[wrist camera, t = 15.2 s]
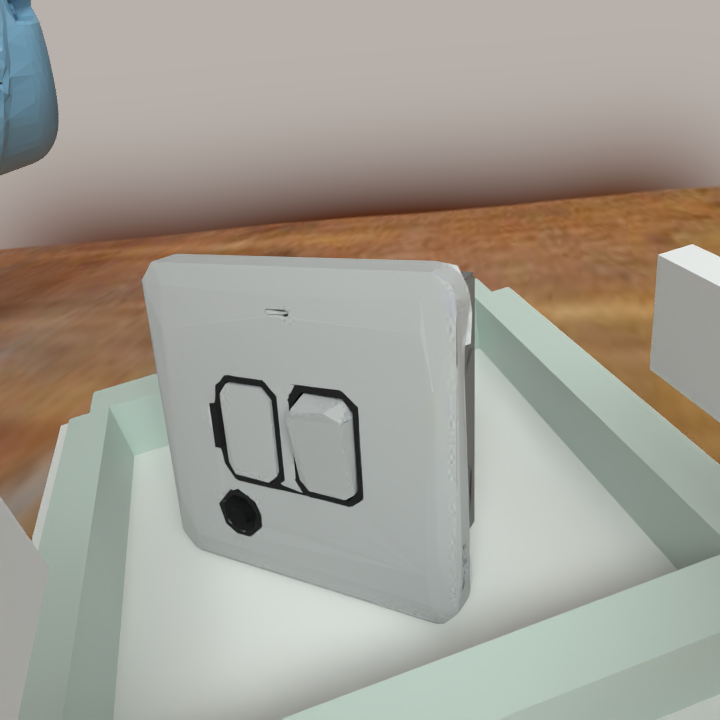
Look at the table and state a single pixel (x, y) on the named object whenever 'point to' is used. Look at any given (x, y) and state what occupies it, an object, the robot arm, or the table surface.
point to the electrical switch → (323, 419)
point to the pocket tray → (382, 625)
